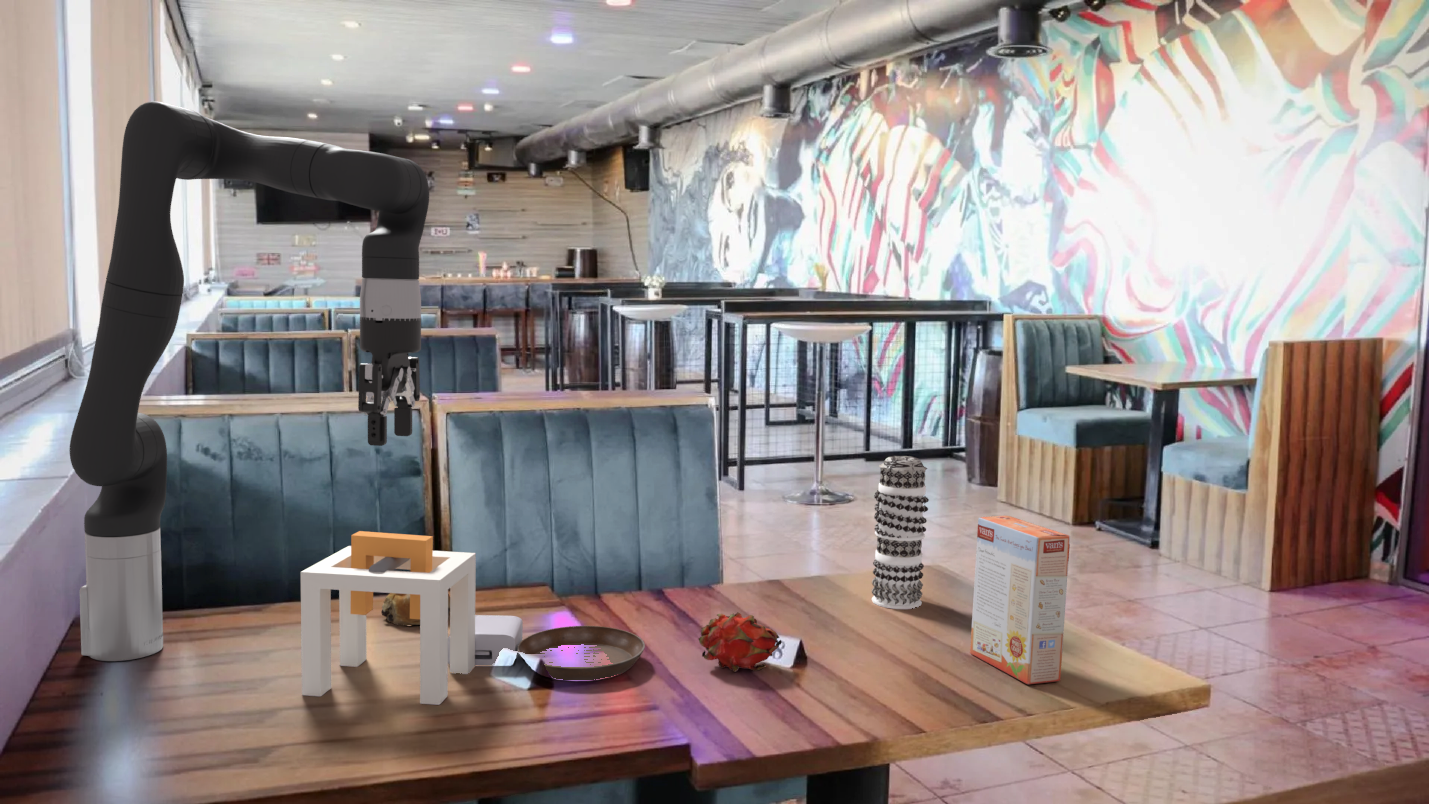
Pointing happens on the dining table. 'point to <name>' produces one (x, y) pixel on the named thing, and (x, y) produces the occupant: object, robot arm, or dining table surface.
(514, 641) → the charger
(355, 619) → the white square table frame
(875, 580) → the decorative candle
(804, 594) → the dining table surface
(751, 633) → the dragon fruit
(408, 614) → the bread roll
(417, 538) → the orange arch block
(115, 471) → the robot arm
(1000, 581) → the cracker box
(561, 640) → the plant saucer
